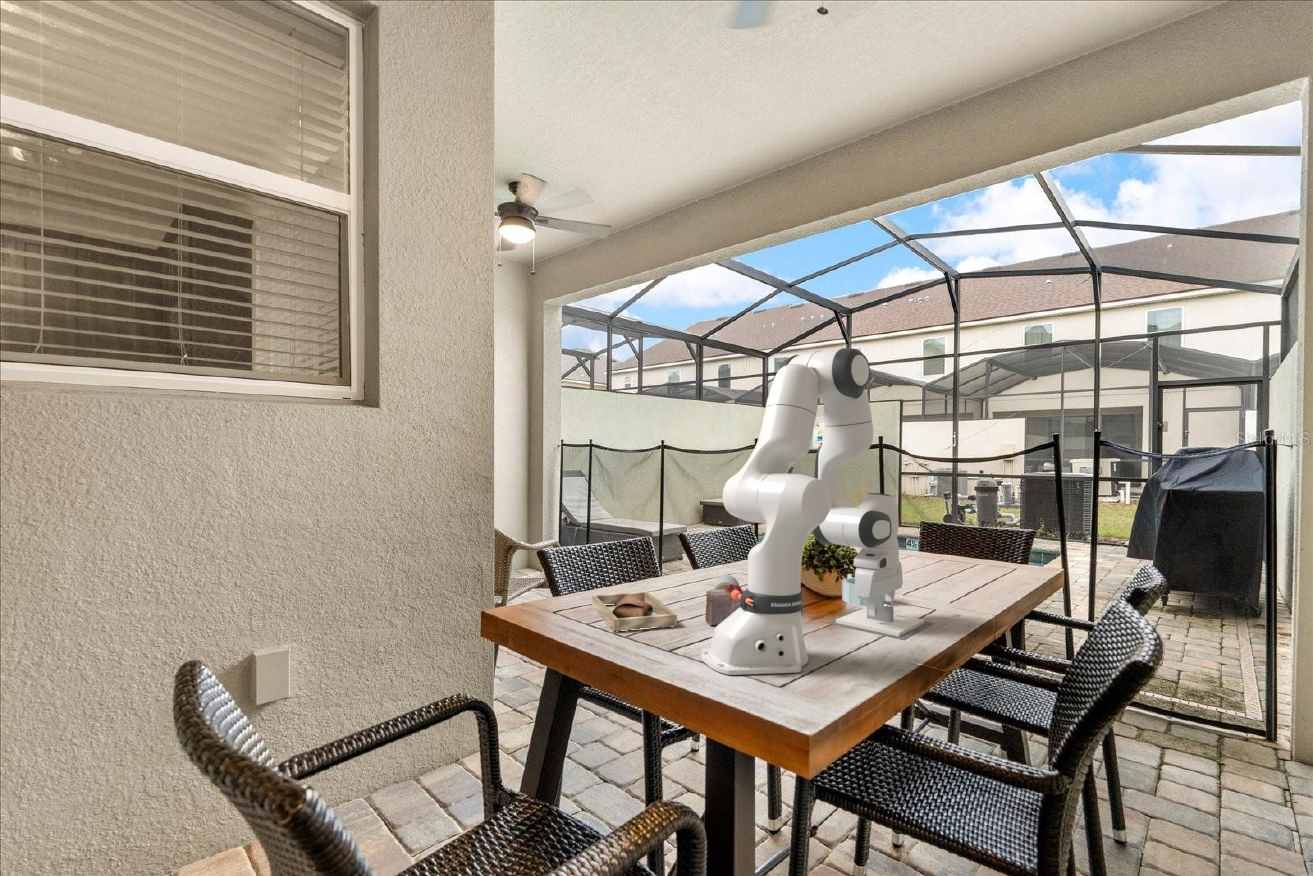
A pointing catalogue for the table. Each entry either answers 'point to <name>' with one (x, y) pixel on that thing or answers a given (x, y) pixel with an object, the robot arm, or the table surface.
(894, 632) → the cream board with block
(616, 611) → the sunglasses case
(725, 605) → the food item
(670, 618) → the case frame
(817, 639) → the table surface
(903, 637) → the mat
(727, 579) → the ceramic mug
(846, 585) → the bowl
